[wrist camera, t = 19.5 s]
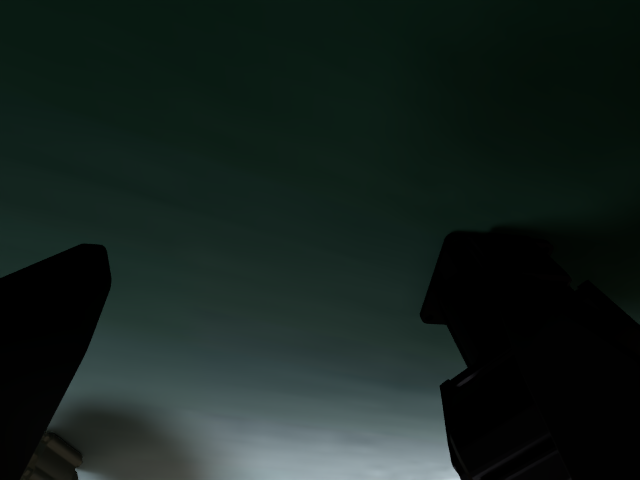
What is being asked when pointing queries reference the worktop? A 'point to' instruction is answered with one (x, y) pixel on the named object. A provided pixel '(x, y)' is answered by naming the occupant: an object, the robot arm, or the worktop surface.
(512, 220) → the worktop surface
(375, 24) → the worktop surface
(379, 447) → the worktop surface
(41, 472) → the pneumatic valve
